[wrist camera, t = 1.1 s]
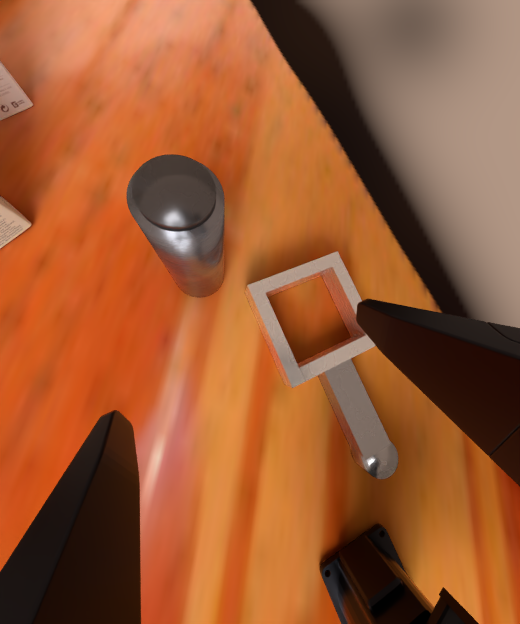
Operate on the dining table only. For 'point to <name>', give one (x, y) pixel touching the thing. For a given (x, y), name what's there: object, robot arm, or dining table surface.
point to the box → (10, 222)
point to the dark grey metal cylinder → (182, 220)
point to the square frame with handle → (330, 360)
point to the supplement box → (11, 95)
